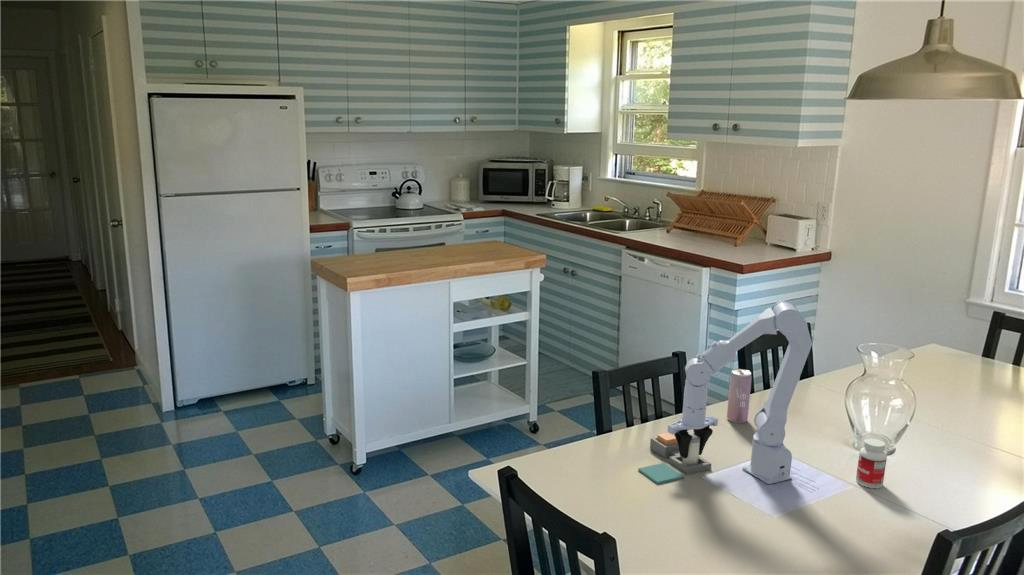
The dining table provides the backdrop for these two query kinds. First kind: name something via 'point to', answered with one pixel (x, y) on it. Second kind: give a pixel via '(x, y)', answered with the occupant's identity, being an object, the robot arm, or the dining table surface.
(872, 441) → the pill bottle
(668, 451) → the housing
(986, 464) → the dining table surface
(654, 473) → the mat
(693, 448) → the cylinder
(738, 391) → the beverage can
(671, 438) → the orange cube
